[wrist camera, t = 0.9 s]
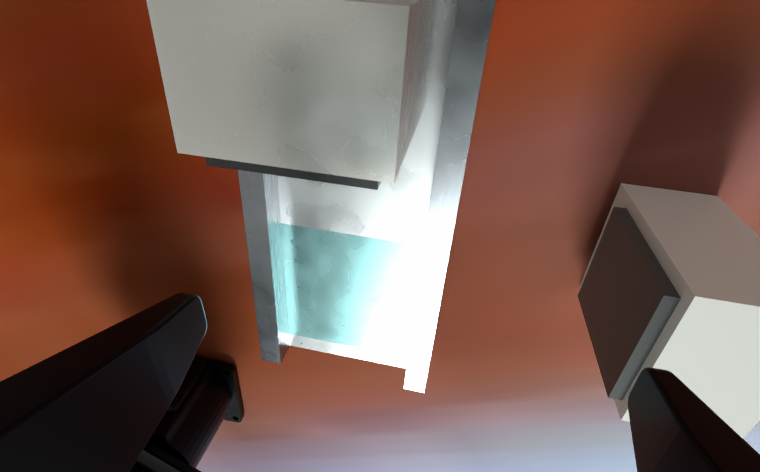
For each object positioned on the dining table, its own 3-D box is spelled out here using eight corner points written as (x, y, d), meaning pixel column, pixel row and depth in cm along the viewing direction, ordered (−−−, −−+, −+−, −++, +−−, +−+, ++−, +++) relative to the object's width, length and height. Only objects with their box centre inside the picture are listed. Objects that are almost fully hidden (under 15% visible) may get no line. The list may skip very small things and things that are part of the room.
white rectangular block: (660, 300, 22) (738, 443, 15) (569, 284, 23) (606, 417, 16) (716, 195, 19) (847, 320, 12) (609, 181, 19) (677, 293, 13)
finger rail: (430, 354, 27) (409, 512, 19) (280, 325, 28) (203, 462, 21) (506, -73, 15) (535, -115, 7) (243, -89, 17) (30, -139, 9)
